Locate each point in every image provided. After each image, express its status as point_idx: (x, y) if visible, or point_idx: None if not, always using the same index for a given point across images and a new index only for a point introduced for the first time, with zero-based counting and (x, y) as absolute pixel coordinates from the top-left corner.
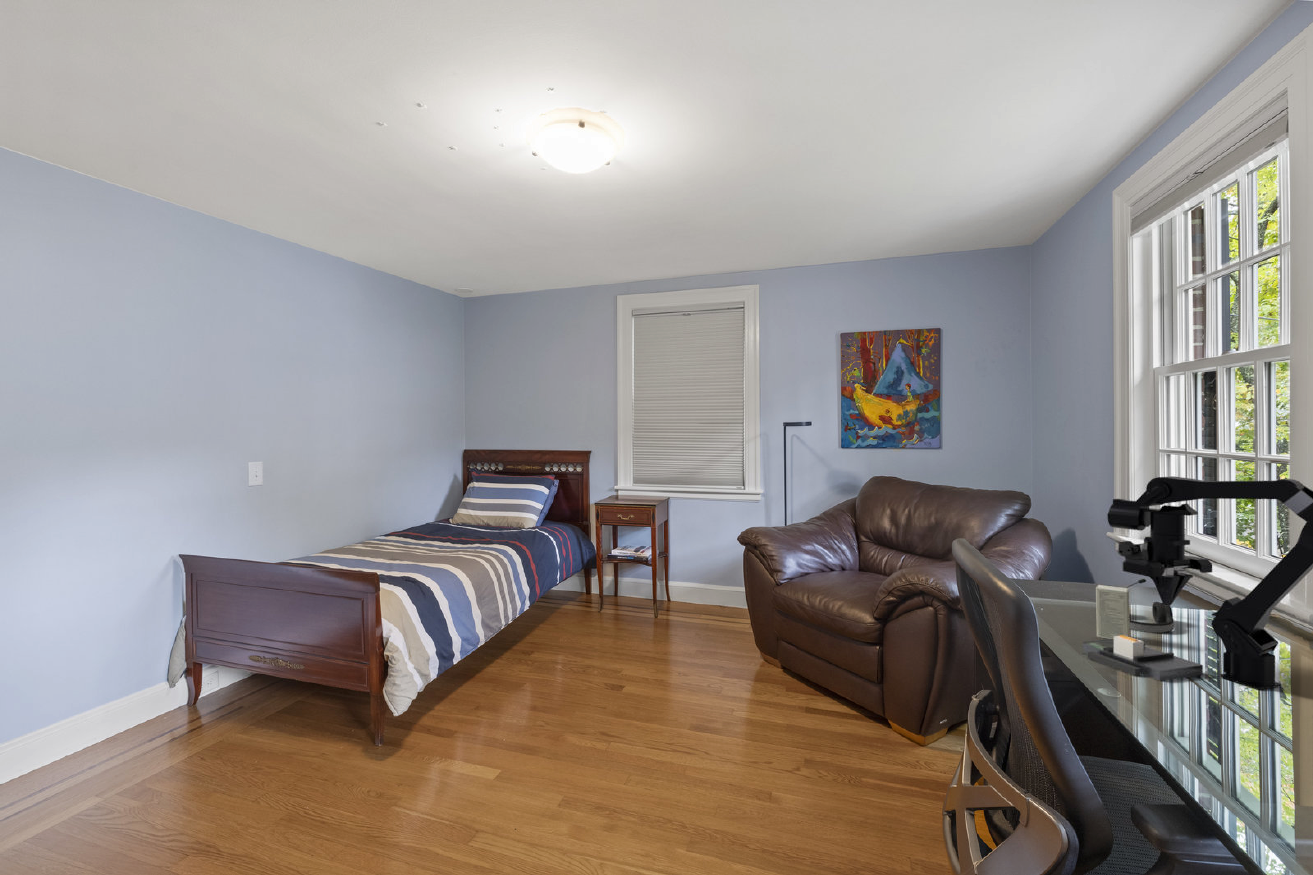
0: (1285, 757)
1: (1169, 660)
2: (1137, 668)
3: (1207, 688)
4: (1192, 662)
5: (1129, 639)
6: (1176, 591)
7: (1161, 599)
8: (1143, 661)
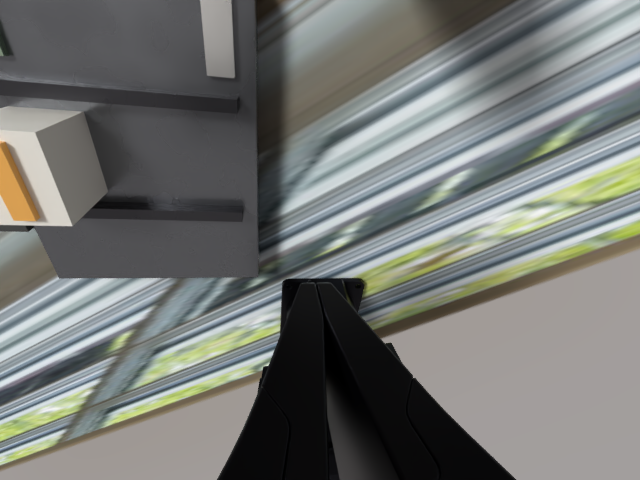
0: (30, 449)
1: (190, 231)
2: (16, 228)
3: (173, 308)
4: (249, 259)
5: (5, 193)
6: (336, 458)
7: (293, 306)
8: None
